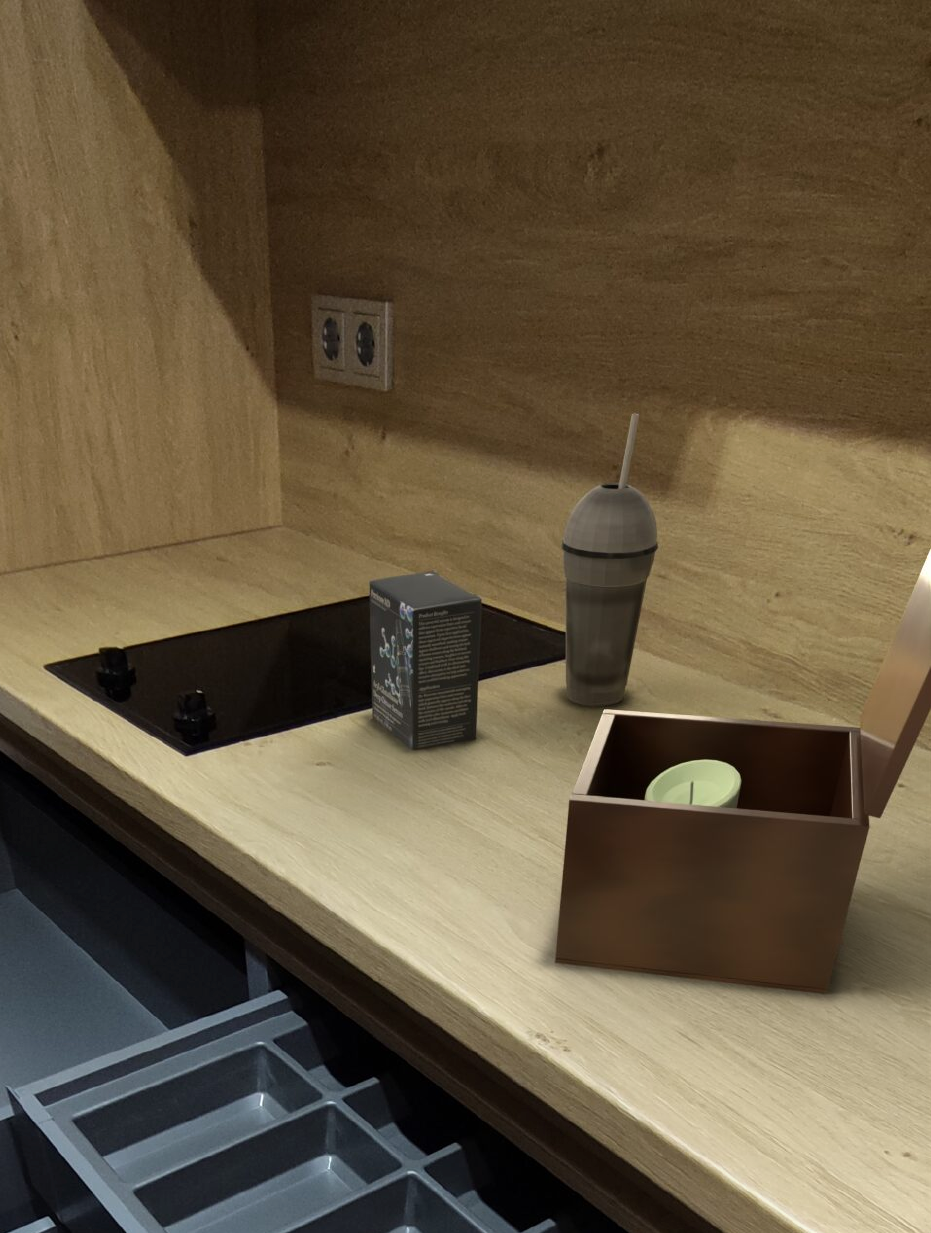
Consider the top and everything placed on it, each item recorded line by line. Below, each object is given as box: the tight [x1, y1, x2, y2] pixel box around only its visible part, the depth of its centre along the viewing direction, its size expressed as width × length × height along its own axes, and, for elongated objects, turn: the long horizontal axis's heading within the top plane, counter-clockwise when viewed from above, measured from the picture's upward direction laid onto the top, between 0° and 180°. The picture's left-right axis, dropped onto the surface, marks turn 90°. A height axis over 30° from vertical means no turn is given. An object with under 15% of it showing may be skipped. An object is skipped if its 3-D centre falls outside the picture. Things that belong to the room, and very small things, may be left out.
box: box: [369, 570, 483, 751], centre depth 93 cm, size 8×6×11 cm
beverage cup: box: [560, 413, 659, 707], centre depth 95 cm, size 7×7×20 cm
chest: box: [554, 708, 871, 995], centre depth 69 cm, size 15×14×10 cm
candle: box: [645, 760, 741, 808], centre depth 70 cm, size 5×5×8 cm
